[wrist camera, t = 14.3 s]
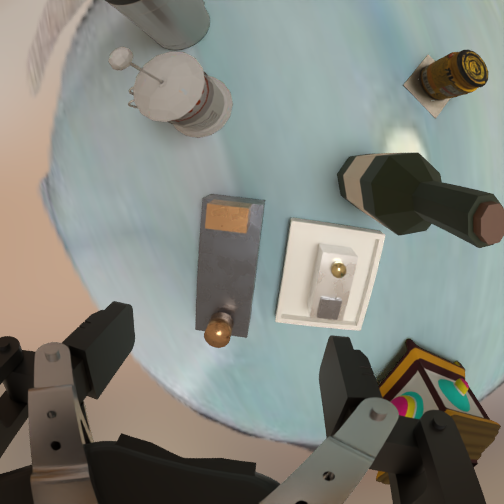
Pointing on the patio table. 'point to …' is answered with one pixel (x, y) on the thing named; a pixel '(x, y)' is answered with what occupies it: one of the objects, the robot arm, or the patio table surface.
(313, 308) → the lever cap
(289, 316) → the tray
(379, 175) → the wine bottle
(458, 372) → the decorative lantern
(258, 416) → the patio table surface
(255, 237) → the plane body
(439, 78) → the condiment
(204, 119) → the french press
